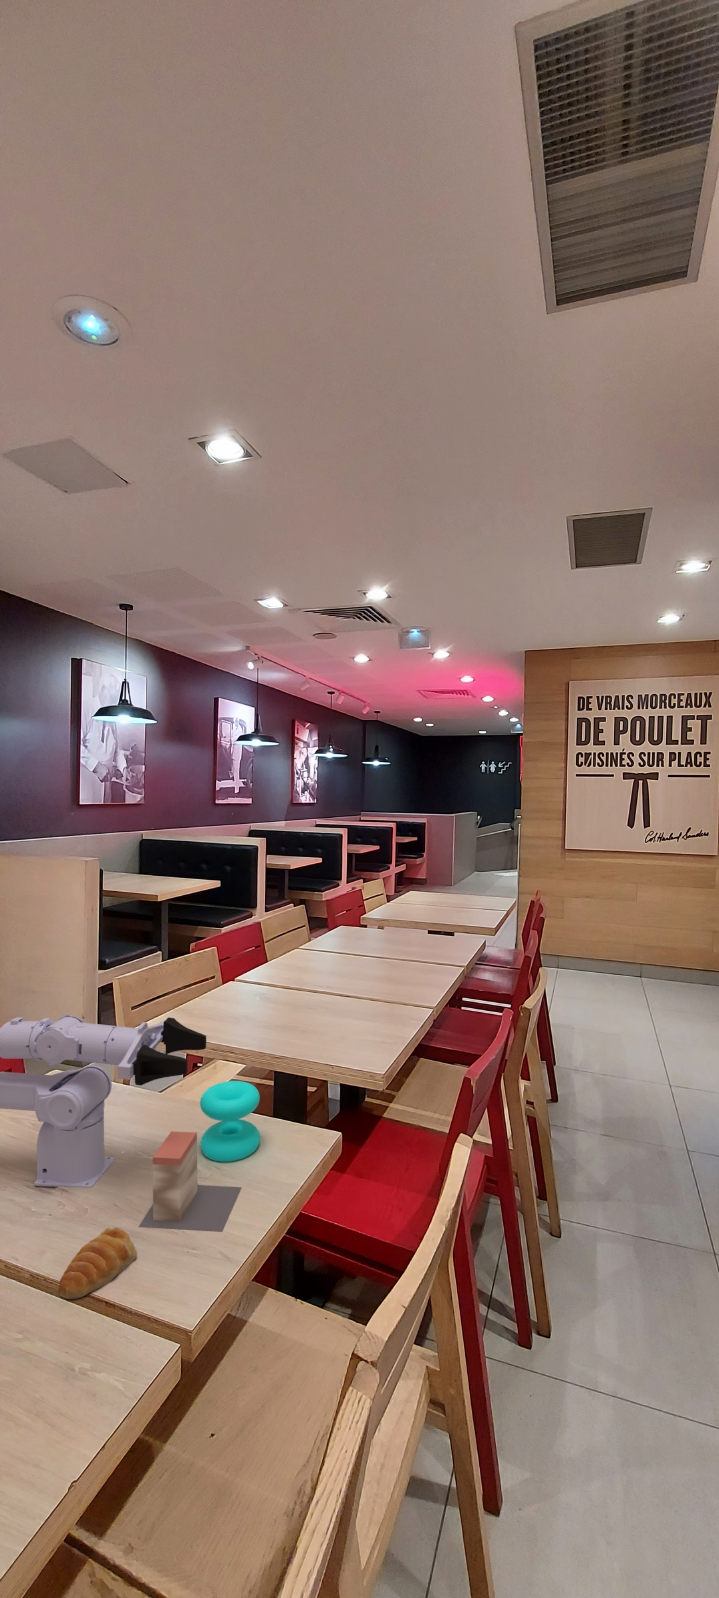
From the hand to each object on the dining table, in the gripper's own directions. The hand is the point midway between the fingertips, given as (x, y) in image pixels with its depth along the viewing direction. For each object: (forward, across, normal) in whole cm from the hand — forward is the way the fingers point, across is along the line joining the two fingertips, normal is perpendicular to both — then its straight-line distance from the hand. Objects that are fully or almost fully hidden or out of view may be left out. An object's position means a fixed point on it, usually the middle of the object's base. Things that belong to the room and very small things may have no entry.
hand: (196, 1054), depth 101 cm
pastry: (-4, -21, +19) cm, 29 cm away
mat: (+3, -8, +19) cm, 21 cm away
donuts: (+3, +8, +21) cm, 23 cm away
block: (0, -8, +19) cm, 21 cm away
